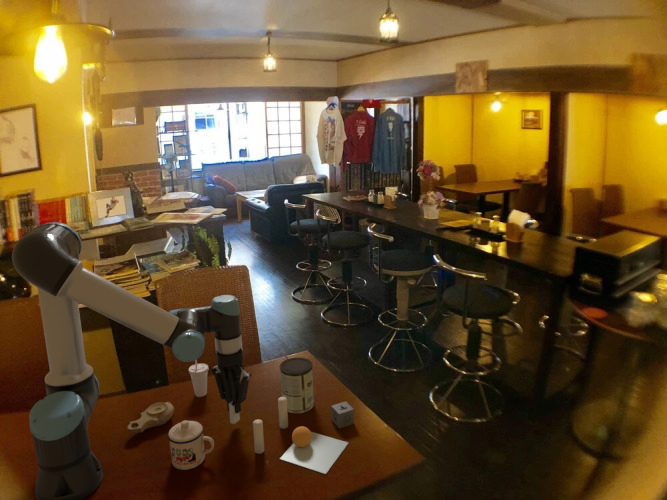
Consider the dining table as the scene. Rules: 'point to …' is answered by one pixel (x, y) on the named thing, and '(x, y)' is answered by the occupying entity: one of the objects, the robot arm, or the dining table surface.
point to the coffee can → (297, 384)
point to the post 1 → (258, 436)
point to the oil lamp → (152, 417)
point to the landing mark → (316, 453)
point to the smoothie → (199, 378)
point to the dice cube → (342, 414)
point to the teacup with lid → (188, 444)
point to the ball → (301, 436)
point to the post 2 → (283, 412)
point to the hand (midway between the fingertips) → (235, 420)
